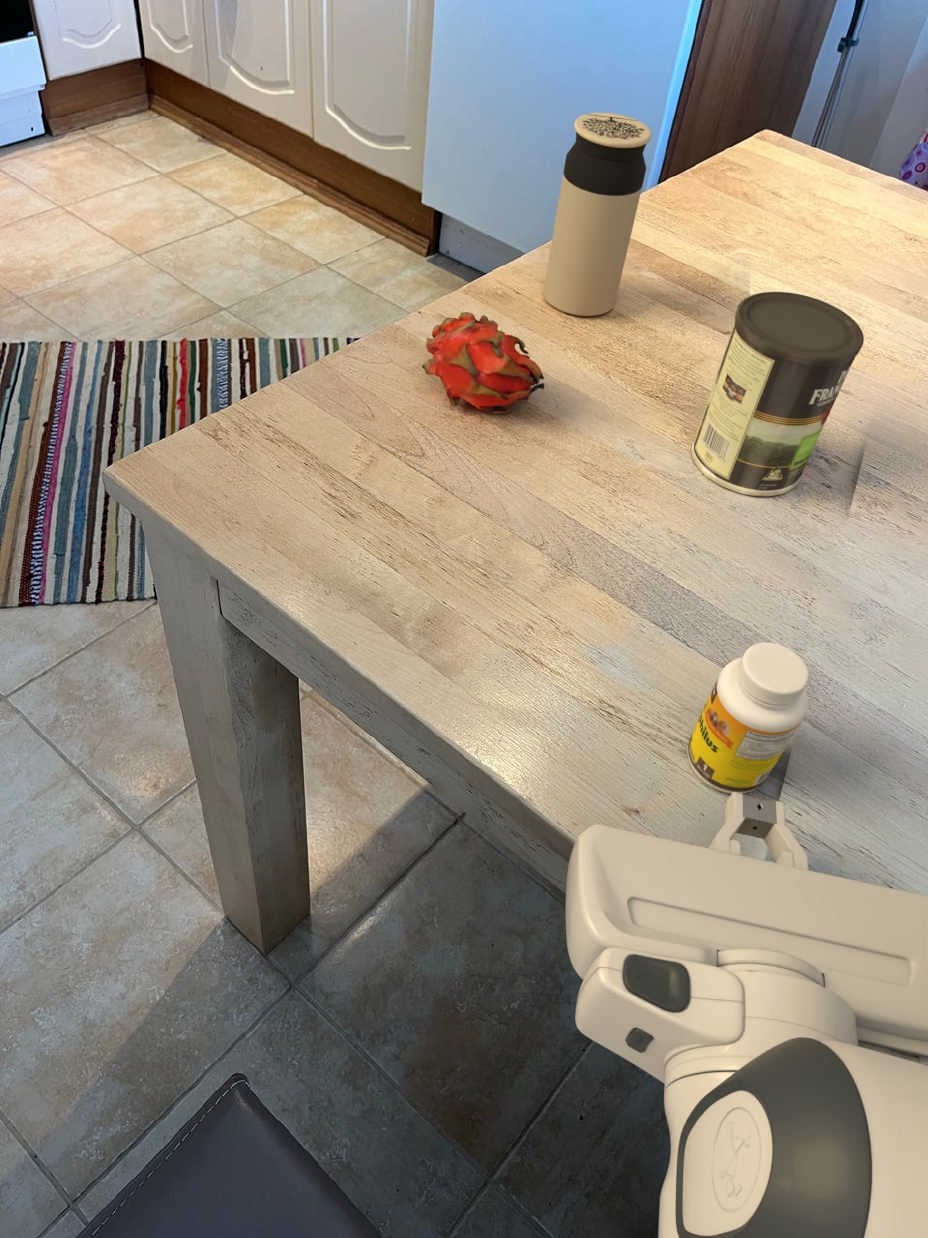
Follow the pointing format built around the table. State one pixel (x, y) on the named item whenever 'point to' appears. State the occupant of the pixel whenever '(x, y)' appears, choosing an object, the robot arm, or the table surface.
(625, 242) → the travel mug
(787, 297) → the coffee can
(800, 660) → the supplement bottle
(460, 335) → the dragon fruit
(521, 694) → the table surface
